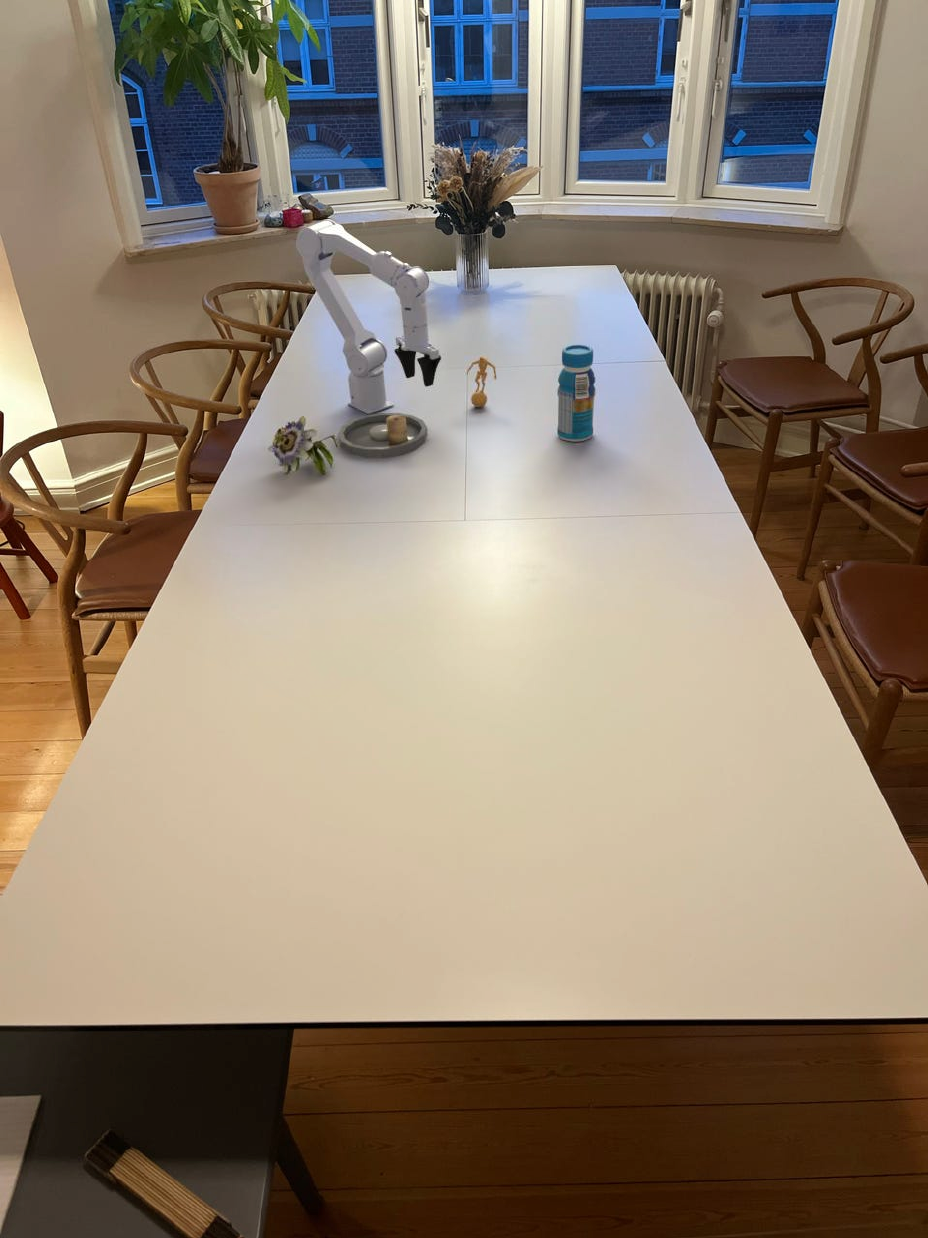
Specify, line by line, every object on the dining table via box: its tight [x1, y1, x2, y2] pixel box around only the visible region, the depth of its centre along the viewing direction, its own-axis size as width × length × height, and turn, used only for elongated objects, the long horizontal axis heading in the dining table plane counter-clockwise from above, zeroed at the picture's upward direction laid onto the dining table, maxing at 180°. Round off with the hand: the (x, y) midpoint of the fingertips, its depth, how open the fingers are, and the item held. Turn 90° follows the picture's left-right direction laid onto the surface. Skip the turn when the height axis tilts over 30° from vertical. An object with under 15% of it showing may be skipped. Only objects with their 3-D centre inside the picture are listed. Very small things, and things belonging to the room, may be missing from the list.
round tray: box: [337, 412, 429, 459], centre depth 204 cm, size 20×20×2 cm
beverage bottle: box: [556, 344, 596, 443], centre depth 195 cm, size 8×8×20 cm
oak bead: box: [386, 415, 408, 446], centre depth 199 cm, size 4×4×6 cm
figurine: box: [466, 356, 497, 408], centre depth 215 cm, size 8×6×12 cm
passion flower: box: [268, 415, 340, 475], centre depth 192 cm, size 13×12×14 cm
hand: (419, 381), depth 210 cm, fingers open, 7 cm apart
